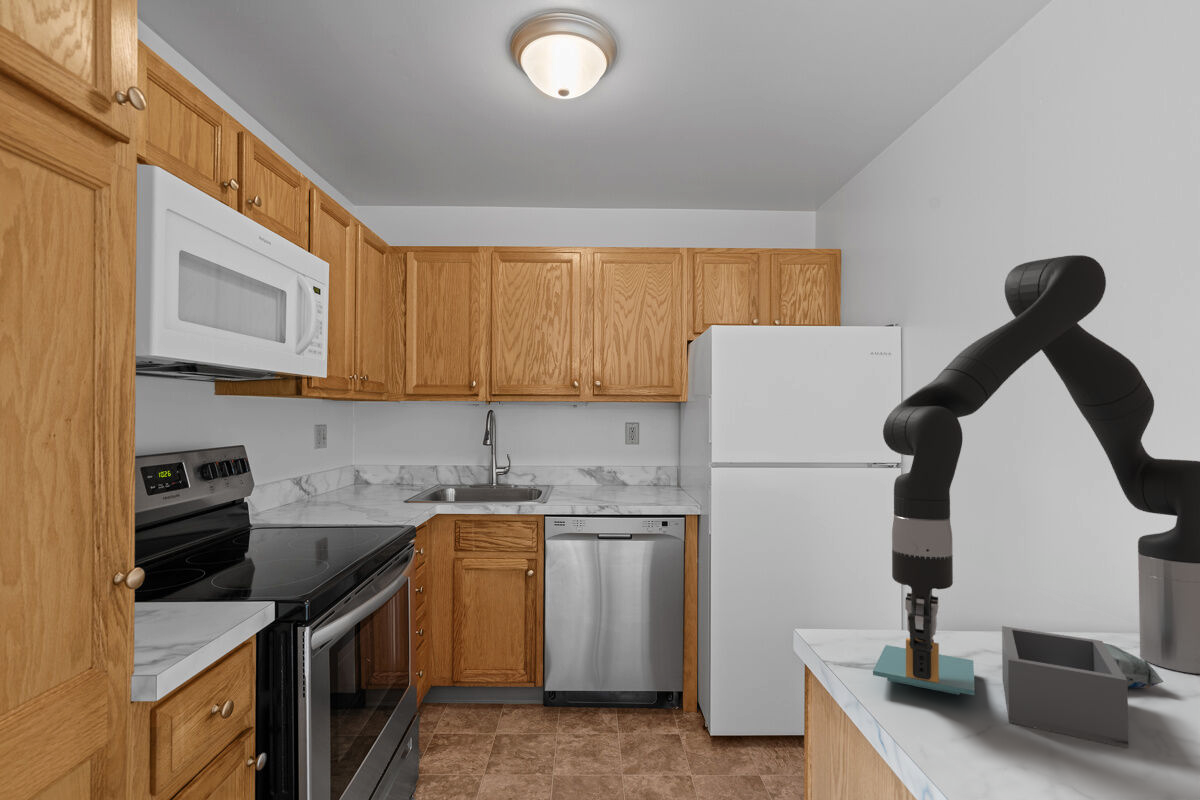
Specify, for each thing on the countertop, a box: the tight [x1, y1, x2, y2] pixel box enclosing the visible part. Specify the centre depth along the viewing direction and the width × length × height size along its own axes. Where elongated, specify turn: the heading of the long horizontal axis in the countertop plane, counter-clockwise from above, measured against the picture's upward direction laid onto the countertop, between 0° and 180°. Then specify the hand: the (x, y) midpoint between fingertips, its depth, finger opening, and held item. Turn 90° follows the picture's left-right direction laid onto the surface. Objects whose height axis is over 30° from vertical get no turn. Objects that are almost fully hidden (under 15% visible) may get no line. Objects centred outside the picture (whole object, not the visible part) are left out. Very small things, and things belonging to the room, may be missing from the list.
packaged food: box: [1103, 642, 1164, 688], centre depth 96 cm, size 9×12×5 cm
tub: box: [1001, 625, 1129, 749], centre depth 85 cm, size 16×12×8 cm
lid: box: [872, 637, 976, 696], centre depth 93 cm, size 16×12×6 cm
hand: (922, 674), depth 87 cm, fingers closed
